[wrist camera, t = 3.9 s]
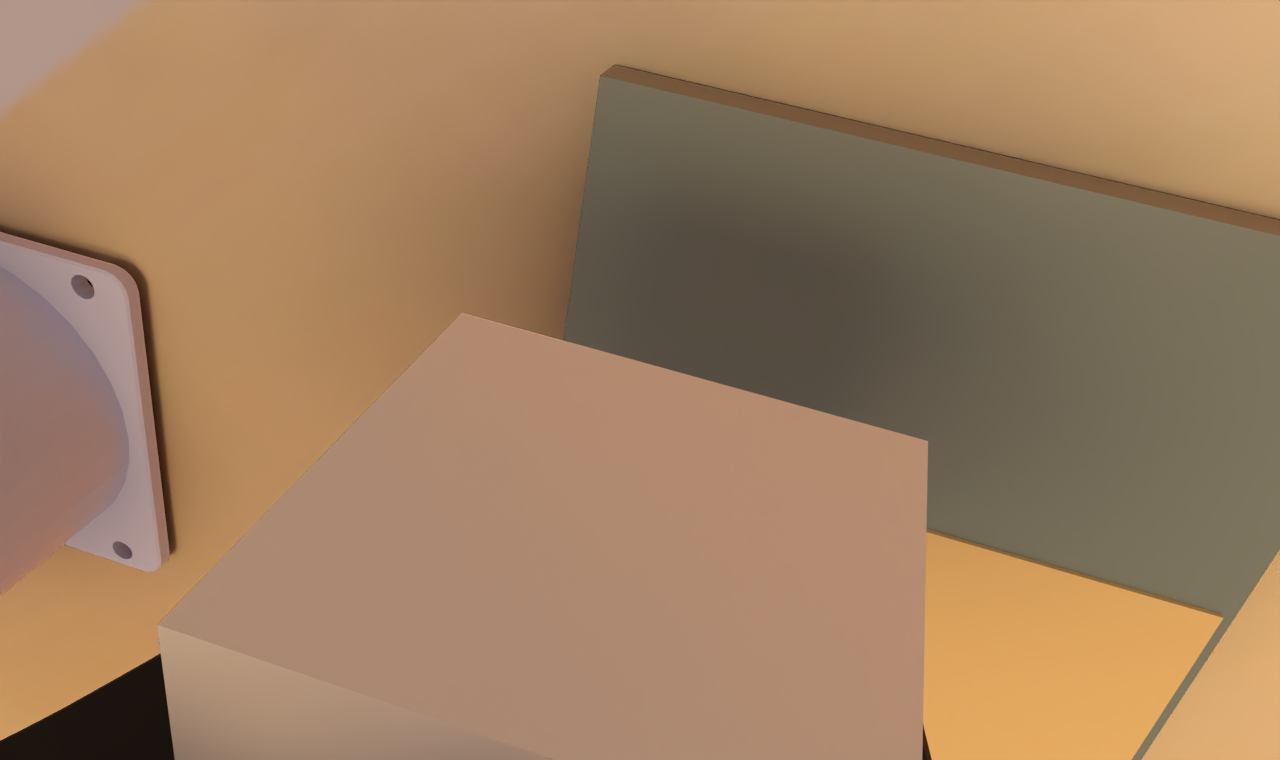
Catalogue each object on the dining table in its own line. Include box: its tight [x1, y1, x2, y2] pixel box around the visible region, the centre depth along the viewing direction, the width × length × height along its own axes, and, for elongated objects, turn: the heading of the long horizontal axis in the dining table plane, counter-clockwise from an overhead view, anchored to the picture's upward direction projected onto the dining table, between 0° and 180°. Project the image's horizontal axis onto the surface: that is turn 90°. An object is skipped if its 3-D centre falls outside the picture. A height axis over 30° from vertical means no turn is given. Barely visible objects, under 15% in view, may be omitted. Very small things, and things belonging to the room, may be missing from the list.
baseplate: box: [564, 65, 1280, 760], centre depth 19 cm, size 12×20×1 cm, turn 171°
